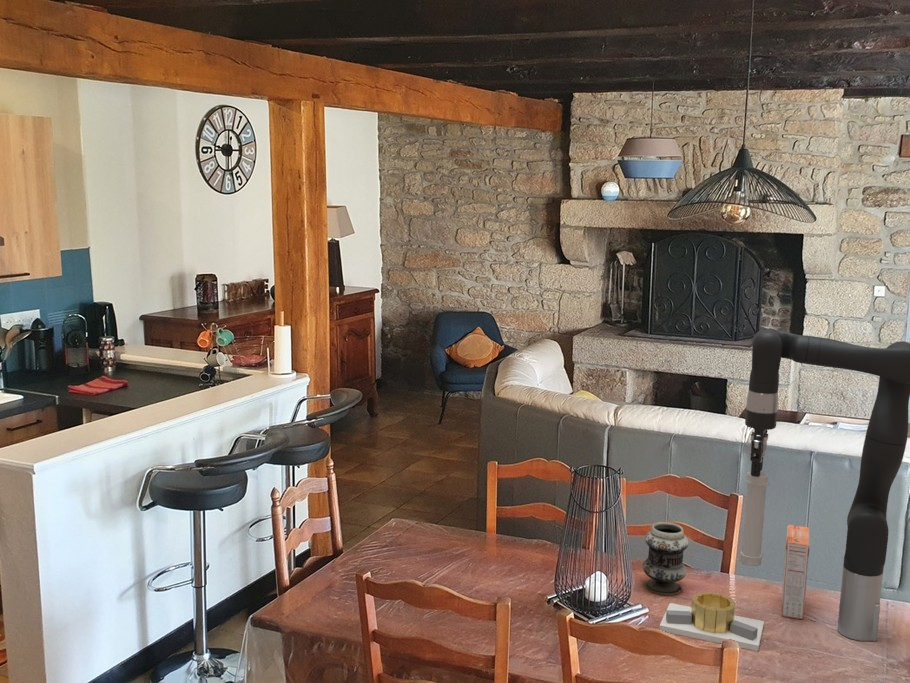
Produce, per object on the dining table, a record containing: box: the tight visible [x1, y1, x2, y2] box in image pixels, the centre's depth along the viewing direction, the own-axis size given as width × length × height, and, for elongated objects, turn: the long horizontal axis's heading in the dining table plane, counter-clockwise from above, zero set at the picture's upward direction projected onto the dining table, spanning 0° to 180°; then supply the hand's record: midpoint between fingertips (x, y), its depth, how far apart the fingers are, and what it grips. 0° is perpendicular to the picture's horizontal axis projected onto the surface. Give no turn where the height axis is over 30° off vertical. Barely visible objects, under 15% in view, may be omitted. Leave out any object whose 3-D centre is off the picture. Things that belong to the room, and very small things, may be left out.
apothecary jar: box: [642, 521, 689, 596], centre depth 257 cm, size 12×12×18 cm
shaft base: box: [659, 602, 765, 652], centre depth 235 cm, size 24×14×4 cm, turn 66°
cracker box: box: [781, 524, 810, 620], centre depth 246 cm, size 14×6×21 cm, turn 159°
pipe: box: [739, 450, 769, 567], centre depth 237 cm, size 6×6×30 cm
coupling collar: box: [691, 591, 736, 633], centre depth 234 cm, size 10×10×6 cm
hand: (756, 472), depth 235 cm, fingers closed on pipe, 5 cm apart
